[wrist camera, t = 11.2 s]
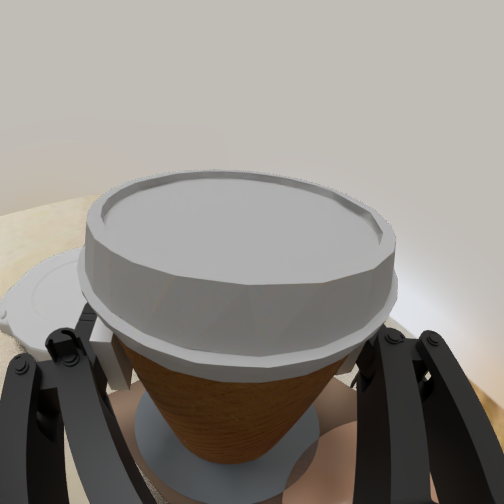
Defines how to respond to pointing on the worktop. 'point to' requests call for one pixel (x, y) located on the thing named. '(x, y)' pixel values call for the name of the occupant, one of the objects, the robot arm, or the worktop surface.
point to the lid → (43, 302)
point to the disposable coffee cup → (236, 297)
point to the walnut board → (329, 416)
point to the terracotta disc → (328, 471)
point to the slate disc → (221, 475)
